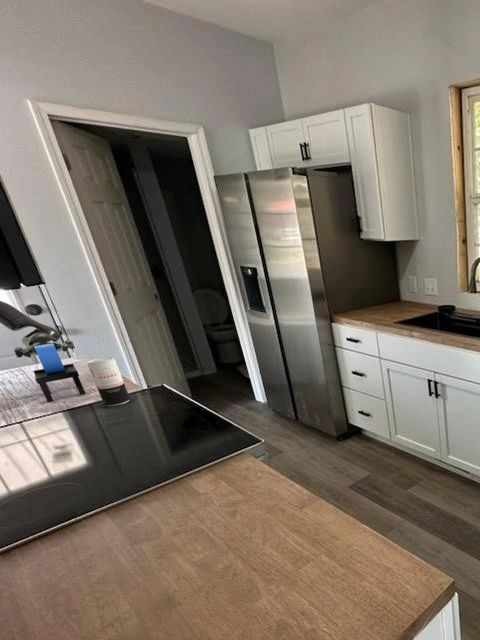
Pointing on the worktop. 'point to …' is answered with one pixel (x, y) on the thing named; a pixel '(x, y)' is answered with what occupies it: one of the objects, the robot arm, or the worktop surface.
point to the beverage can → (108, 381)
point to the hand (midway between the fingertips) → (46, 351)
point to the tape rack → (68, 373)
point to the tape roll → (49, 358)
